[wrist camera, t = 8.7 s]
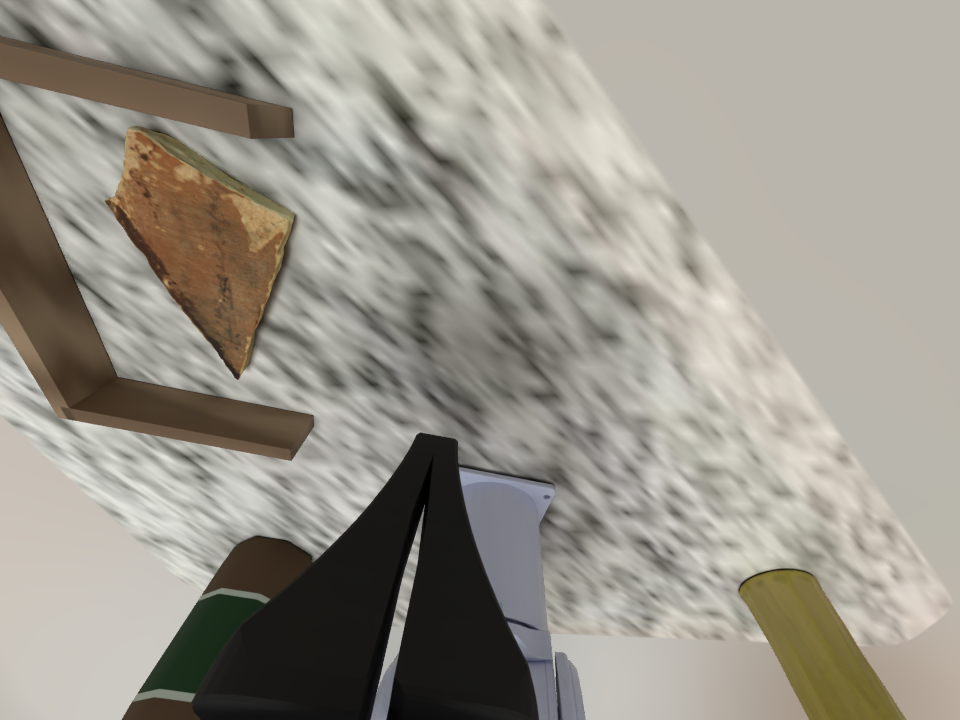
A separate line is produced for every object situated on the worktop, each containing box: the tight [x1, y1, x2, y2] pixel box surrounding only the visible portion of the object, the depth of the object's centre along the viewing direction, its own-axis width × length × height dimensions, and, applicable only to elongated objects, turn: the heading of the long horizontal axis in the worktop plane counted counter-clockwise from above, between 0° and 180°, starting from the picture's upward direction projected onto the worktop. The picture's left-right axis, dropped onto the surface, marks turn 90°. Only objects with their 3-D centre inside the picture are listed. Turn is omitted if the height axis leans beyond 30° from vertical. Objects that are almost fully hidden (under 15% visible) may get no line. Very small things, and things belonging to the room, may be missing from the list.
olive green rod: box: [740, 570, 906, 720], centre depth 25 cm, size 6×6×14 cm
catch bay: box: [0, 36, 314, 461], centre depth 17 cm, size 18×14×3 cm
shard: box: [105, 126, 295, 380], centre depth 18 cm, size 11×8×2 cm
